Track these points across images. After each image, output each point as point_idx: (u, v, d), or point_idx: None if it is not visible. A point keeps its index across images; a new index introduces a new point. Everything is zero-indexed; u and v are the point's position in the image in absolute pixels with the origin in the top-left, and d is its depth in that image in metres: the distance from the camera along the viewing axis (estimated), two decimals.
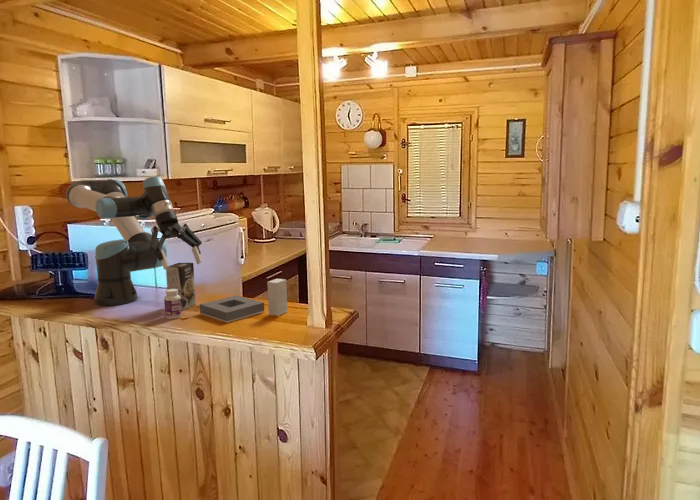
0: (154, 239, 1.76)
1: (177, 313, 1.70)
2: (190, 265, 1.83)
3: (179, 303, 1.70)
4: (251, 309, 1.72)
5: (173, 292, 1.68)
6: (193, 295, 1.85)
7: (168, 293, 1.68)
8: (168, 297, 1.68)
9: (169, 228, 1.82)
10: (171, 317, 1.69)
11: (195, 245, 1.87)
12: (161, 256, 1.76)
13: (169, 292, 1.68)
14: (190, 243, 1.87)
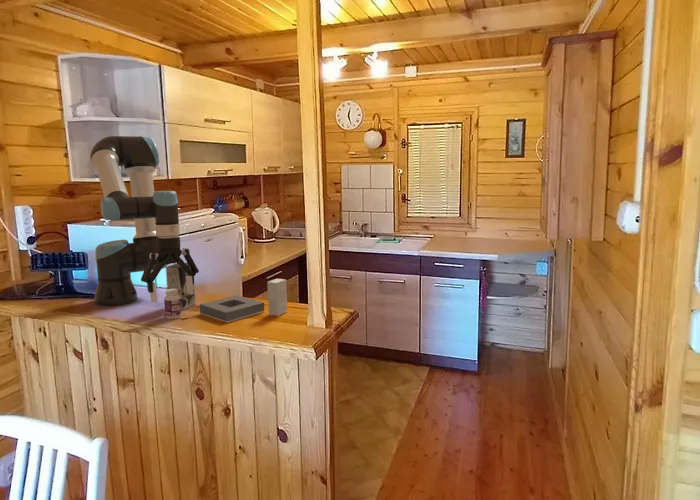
0: (149, 270, 1.61)
1: (177, 313, 1.70)
2: None
3: (179, 303, 1.70)
4: (251, 309, 1.72)
5: (173, 292, 1.68)
6: (193, 295, 1.85)
7: (168, 293, 1.68)
8: (168, 297, 1.68)
9: (168, 257, 1.65)
10: (171, 317, 1.69)
11: (191, 274, 1.74)
12: (152, 289, 1.63)
13: (169, 292, 1.68)
14: (186, 271, 1.73)
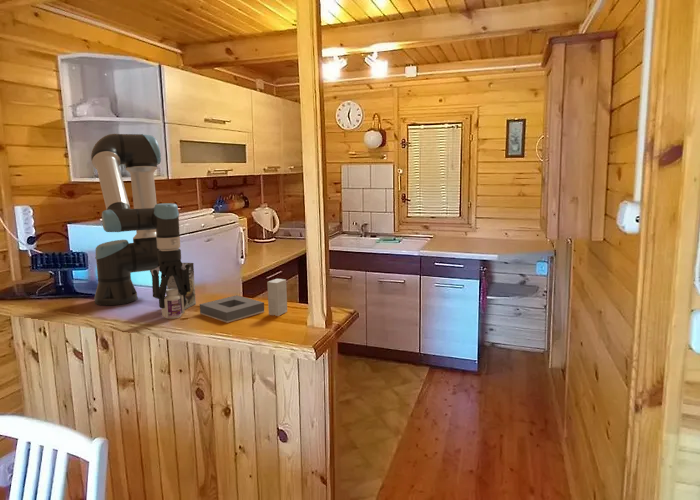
0: (157, 286, 1.64)
1: (177, 313, 1.70)
2: (190, 265, 1.83)
3: (179, 303, 1.70)
4: (251, 309, 1.72)
5: (173, 292, 1.68)
6: (193, 295, 1.85)
7: (168, 293, 1.68)
8: (168, 297, 1.68)
9: (169, 269, 1.66)
10: (171, 317, 1.69)
11: (182, 293, 1.72)
12: (163, 304, 1.67)
13: (169, 292, 1.68)
14: (179, 288, 1.72)
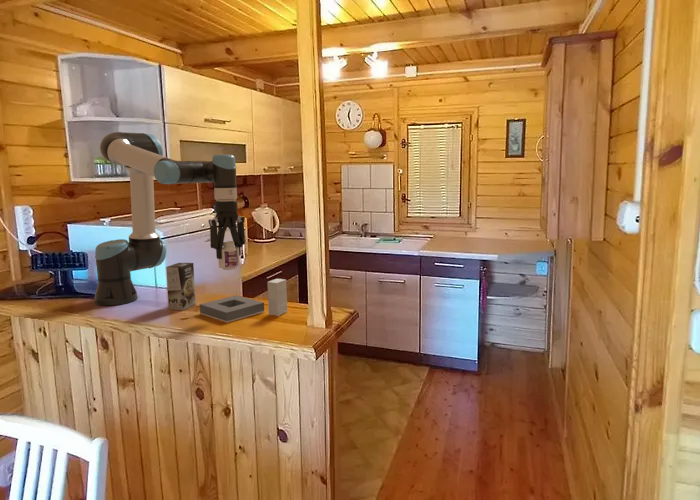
0: (215, 236, 1.66)
1: (233, 264, 1.71)
2: (190, 265, 1.83)
3: (235, 254, 1.72)
4: (251, 309, 1.72)
5: (230, 243, 1.70)
6: (193, 295, 1.85)
7: (225, 244, 1.70)
8: (225, 248, 1.70)
9: (227, 220, 1.68)
10: (228, 268, 1.70)
11: (237, 245, 1.74)
12: (221, 255, 1.69)
13: (226, 243, 1.69)
14: (235, 240, 1.73)
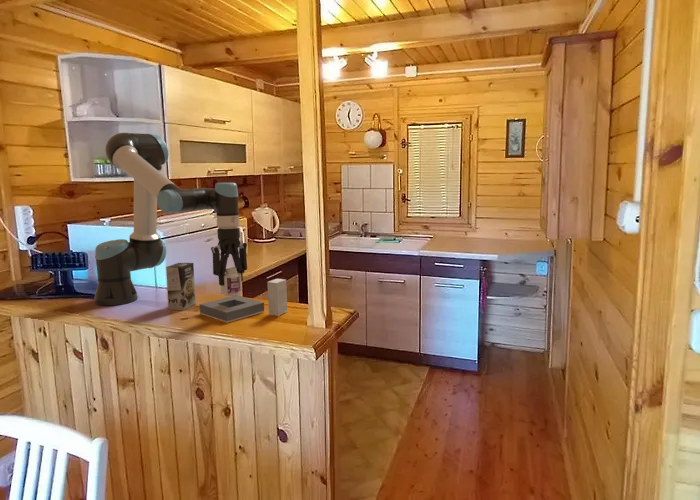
0: (217, 264, 1.67)
1: (236, 290, 1.73)
2: (190, 265, 1.83)
3: (238, 281, 1.73)
4: (251, 309, 1.72)
5: (232, 270, 1.72)
6: (193, 295, 1.85)
7: (227, 271, 1.71)
8: (227, 274, 1.71)
9: (229, 247, 1.70)
10: (230, 294, 1.72)
11: (239, 271, 1.75)
12: (223, 282, 1.71)
13: (228, 270, 1.71)
14: (237, 266, 1.75)
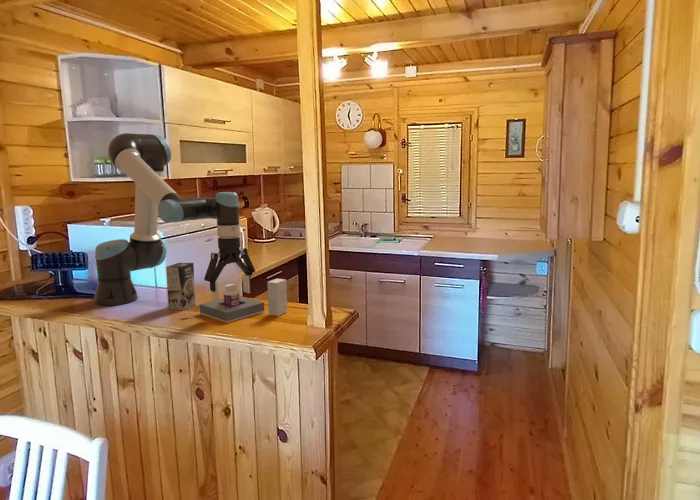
0: (212, 269, 1.66)
1: None
2: (190, 265, 1.83)
3: (238, 298, 1.74)
4: (251, 309, 1.72)
5: (233, 287, 1.73)
6: (193, 295, 1.85)
7: (227, 288, 1.72)
8: (228, 292, 1.73)
9: (229, 257, 1.70)
10: None
11: (248, 274, 1.78)
12: (214, 288, 1.68)
13: (229, 287, 1.72)
14: (244, 270, 1.78)
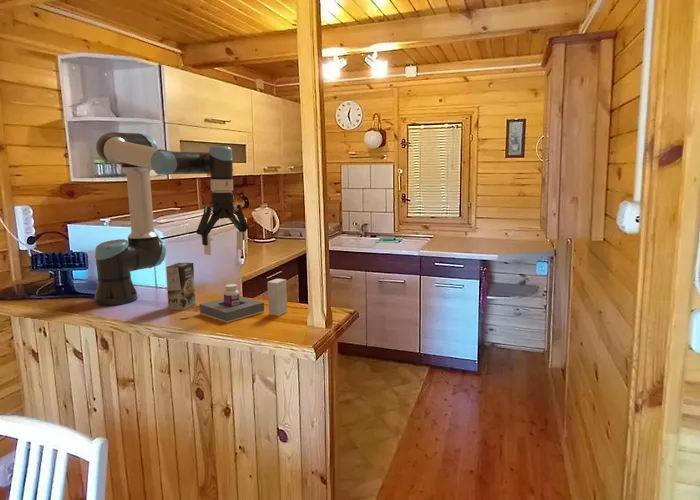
0: (204, 223, 1.65)
1: None
2: (190, 265, 1.83)
3: (238, 298, 1.74)
4: (251, 309, 1.72)
5: (233, 287, 1.73)
6: (193, 295, 1.85)
7: (228, 288, 1.72)
8: (228, 292, 1.72)
9: (222, 211, 1.69)
10: None
11: (241, 230, 1.78)
12: (206, 242, 1.67)
13: (229, 287, 1.72)
14: (237, 226, 1.77)
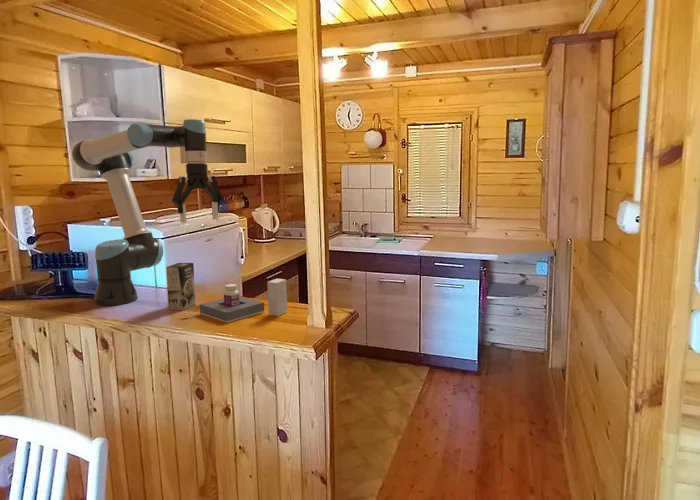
0: (179, 192, 1.75)
1: None
2: (190, 265, 1.83)
3: (238, 298, 1.74)
4: (251, 309, 1.72)
5: (233, 287, 1.73)
6: (193, 295, 1.85)
7: (227, 288, 1.72)
8: (228, 292, 1.73)
9: (197, 181, 1.79)
10: None
11: (216, 201, 1.87)
12: (182, 210, 1.77)
13: (229, 287, 1.72)
14: (212, 197, 1.86)
